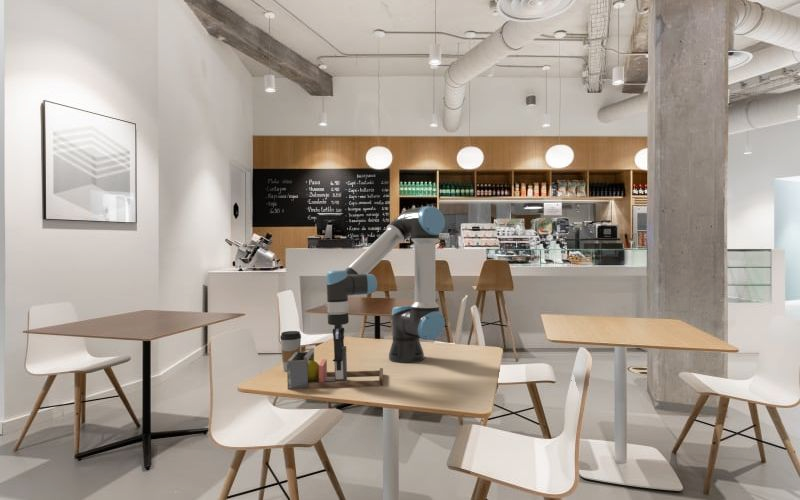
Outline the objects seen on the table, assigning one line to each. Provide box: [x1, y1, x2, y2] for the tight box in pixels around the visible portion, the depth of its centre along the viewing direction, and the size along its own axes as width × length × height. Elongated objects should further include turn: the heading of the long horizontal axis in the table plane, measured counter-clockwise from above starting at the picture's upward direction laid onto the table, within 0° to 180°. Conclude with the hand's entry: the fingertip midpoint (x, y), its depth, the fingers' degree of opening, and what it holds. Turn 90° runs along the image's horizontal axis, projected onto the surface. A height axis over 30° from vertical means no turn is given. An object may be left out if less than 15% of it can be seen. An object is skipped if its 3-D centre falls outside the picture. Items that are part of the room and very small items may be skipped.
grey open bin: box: [286, 347, 315, 389], centre depth 174 cm, size 7×16×11 cm, turn 2°
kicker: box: [318, 345, 348, 382], centre depth 174 cm, size 9×10×12 cm
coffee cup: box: [279, 330, 302, 372], centre depth 193 cm, size 8×8×15 cm
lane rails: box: [307, 367, 384, 389], centre depth 174 cm, size 26×15×2 cm, turn 92°
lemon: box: [308, 360, 319, 383], centre depth 172 cm, size 11×8×8 cm
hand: (340, 376), depth 174 cm, fingers closed on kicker, 4 cm apart
